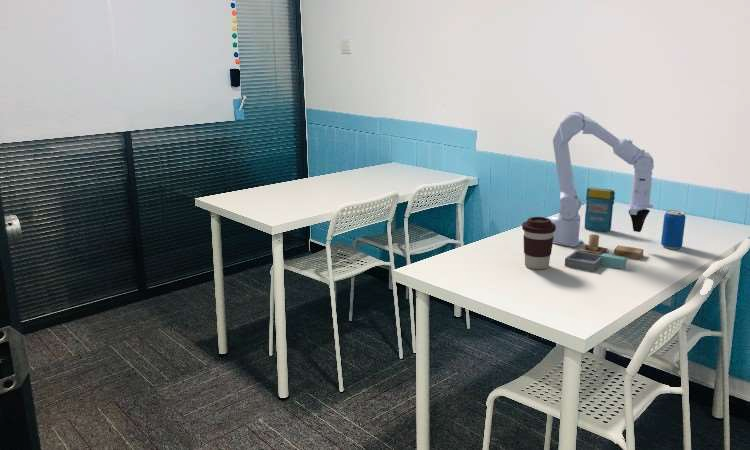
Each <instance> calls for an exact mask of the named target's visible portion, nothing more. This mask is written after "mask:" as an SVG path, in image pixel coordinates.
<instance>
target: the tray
mask: <svg viewBox="0 0 750 450" xmlns="http://www.w3.org/2000/svg"><path fill="white" fill-rule="evenodd" d="M600 256H601V255H597V254H592V253H586V252H581V251H578V250H575V251H573V252H571V254H569V255H567V256H566V257H565V258H564V267H570V268H574V269H579V270H584V271H587V272H588V271H590V272H595V271H596V270H597V269H599V267H601V266H602V265H601V262H602V257H600Z"/></svg>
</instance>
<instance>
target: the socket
mask: <svg viewBox="0 0 750 450" xmlns="http://www.w3.org/2000/svg"><path fill="white" fill-rule="evenodd" d="M588 246H589V244H585V245H584V246H582V247H581V248H579V249H578V250H577V251H581V252H586V253H592V254H597V255H602V254H603V253H606V254H608V250H609V248H608V247H604V246H603V247H602V246H598V252H595V251H589V250H588Z"/></svg>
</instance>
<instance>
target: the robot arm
mask: <svg viewBox="0 0 750 450" xmlns="http://www.w3.org/2000/svg"><path fill="white" fill-rule="evenodd" d="M581 131H582V133H581V134H583V135H593V137H595V138H598V140H600V141H602V142H604V143H605V144H606V145H608V146H610V148H611V147H612V151H613V154H614V155H615V156H617V157H619V159H621V160H623V161H624V162H626V163H627V164H628V165H629V166H633V169H634V172H633V174H634V175H633V176H632V184H631V195H630V203H629V210H628V215H629V216H630V220H631V224H632V230H633V232H635V233H636V232H637V233H641V232H642V229H643V227H644V224H645V221H646V219H647V217H648V215H649V213H650V210H651V209H652V208H653V209H654V205H653V204H650V201H651V193H652V183H653V177H652V176H653V170H654V167H655V164H654V162H655V161H654V157H653V156H652V155H651V154H650V153H649V152H646V150H645V149H643V148H639V147H638V146H637V145H635V144H634V143H633V140H632V139H630V138H629V139H627V138H622V139H621V138H620V139H619V138H618V137H617V136H615V135H614V134H613V133H611V132H610V131H609V130H607V129H606V128H605V127H604V126H602V125H601V124H599V123H598V122H597V121H596V120H594V119H592V118H591V117H589V116H585V115H584V114H583V113H582V112H580V111H573V112H571V113H570V114H568V115H567V116H566V117H565V119H563V120H562V121H561V122H560V124H559V126H558V128H557V129H556V132H555V134H554V137H553V139H552V144H553V146H552V147H553V151H554V158H555V159H554V160H555V165H556V171H557V177H558V185H559V192H560V193H559V200H560V205H559V208H558V213H559V214H558V215H553V216H552V217H551V219H550V220H551V222H552V223H554V224H555V225H556V230H555V231H554V232H553V244H555V245H561V246H566V247H572V248H576V247H577V246H578V245H580V244H581V243H583V242H584V241H583V239H580V230H581V229H580V227H581V215H580V214H579V212H580V209H581V207H582V203H581V202H582V201H581V200H580V198H579V197H578V195H577V191H576V187H575V181H574V174H573V167H572V161H571V151H570V146H569V143H570V141H571V140H572V139H573V137H574V136H576V135H578V134H579V133H580V132H581Z"/></svg>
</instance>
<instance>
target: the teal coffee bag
mask: <svg viewBox="0 0 750 450" xmlns="http://www.w3.org/2000/svg"><path fill="white" fill-rule="evenodd" d="M615 194H616V192H615V190H614V189H608V188H607V189H606V188H597V187H588V188H587V189H586V194H585V197H586V199H585V201H586V205H585V215H584V229H585V230H589V231H596V232H602V233H603V232H604V233H607V232H610V231H612V230H611V229H612V219H613V212H614V211H613V210H614V205H615V204H614V203H615V199H616V195H615Z"/></svg>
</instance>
